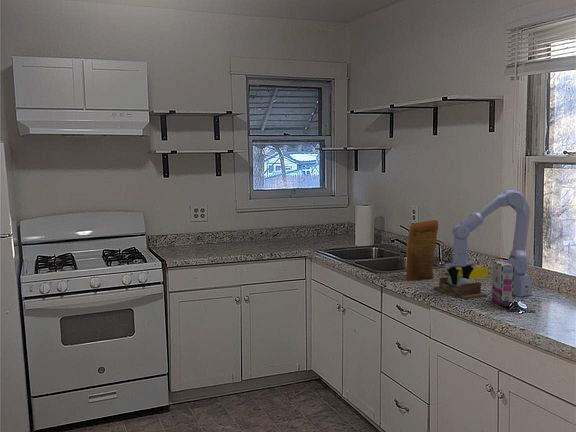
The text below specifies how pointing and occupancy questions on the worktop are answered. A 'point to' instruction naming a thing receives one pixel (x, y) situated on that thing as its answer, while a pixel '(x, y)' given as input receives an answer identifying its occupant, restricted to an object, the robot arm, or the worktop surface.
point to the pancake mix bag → (421, 250)
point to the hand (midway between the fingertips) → (459, 283)
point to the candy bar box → (502, 282)
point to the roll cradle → (466, 289)
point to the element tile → (474, 272)
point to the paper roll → (458, 282)
